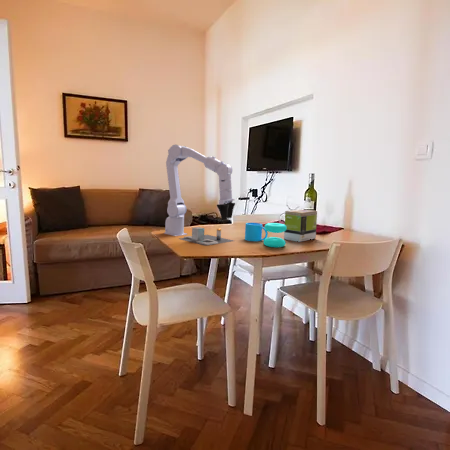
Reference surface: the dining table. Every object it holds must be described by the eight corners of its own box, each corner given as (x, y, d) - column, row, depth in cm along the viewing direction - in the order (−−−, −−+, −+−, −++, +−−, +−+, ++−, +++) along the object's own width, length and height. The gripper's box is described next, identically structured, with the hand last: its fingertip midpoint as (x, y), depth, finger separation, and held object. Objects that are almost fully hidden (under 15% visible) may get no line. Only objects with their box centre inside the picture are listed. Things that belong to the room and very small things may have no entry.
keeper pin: (215, 239, 162) (215, 229, 161) (218, 239, 163) (218, 228, 162) (218, 240, 160) (218, 229, 160) (221, 240, 162) (221, 229, 161)
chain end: (181, 238, 161) (181, 226, 160) (192, 237, 166) (192, 225, 165) (206, 245, 149) (207, 231, 148) (218, 243, 154) (218, 230, 153)
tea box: (299, 236, 184) (301, 208, 182) (316, 239, 177) (318, 210, 174) (282, 239, 173) (284, 210, 171) (299, 242, 166) (302, 212, 164)
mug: (241, 240, 166) (242, 223, 164) (250, 238, 172) (251, 222, 171) (262, 244, 158) (263, 226, 157) (271, 241, 165) (272, 225, 164)
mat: (178, 239, 161) (178, 238, 161) (207, 235, 174) (207, 234, 174) (205, 246, 148) (205, 245, 148) (234, 241, 161) (234, 240, 161)
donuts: (279, 222, 161) (291, 225, 152) (277, 243, 162) (289, 247, 153) (260, 222, 157) (271, 226, 148) (259, 244, 158) (270, 248, 149)
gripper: (228, 189, 152) (230, 220, 153) (238, 189, 165) (239, 217, 167) (214, 190, 154) (215, 220, 156) (224, 189, 168) (225, 217, 169)
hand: (226, 218), depth 161 cm, fingers open, 7 cm apart
